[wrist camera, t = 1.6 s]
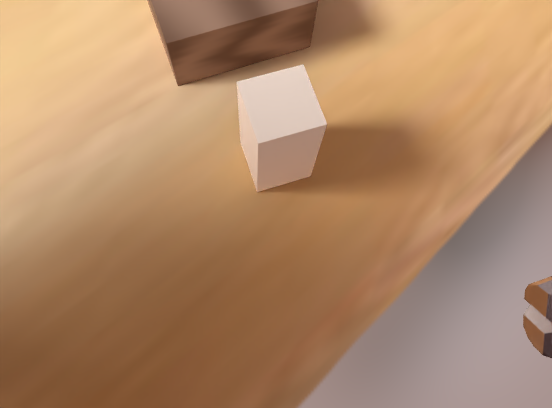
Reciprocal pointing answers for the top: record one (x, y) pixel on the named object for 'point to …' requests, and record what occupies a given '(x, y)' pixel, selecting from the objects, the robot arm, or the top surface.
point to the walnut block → (229, 33)
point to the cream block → (279, 126)
